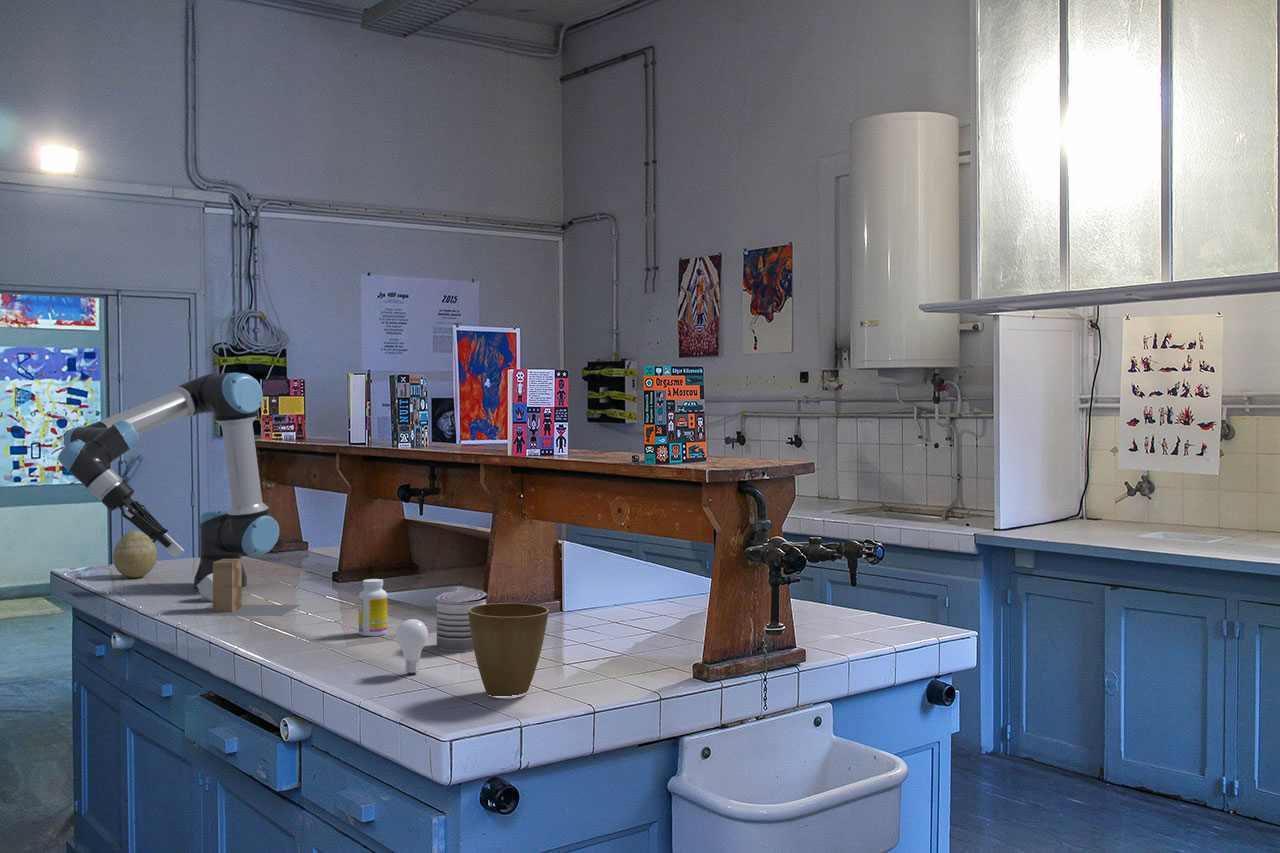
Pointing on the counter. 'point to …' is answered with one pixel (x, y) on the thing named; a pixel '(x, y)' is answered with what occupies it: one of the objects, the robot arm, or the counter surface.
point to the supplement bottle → (372, 608)
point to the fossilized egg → (135, 555)
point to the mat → (249, 611)
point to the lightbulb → (412, 642)
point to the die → (206, 588)
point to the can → (456, 619)
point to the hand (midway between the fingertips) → (179, 554)
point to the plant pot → (507, 644)
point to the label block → (227, 585)
